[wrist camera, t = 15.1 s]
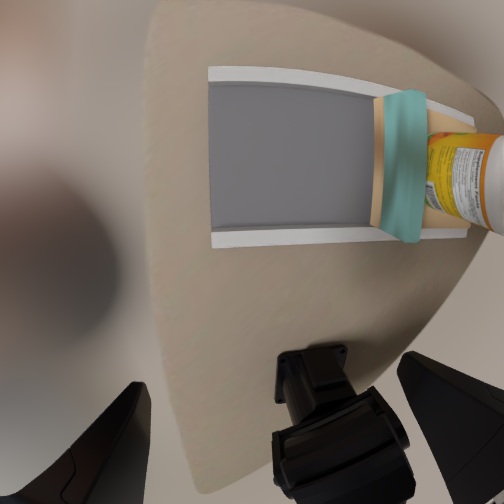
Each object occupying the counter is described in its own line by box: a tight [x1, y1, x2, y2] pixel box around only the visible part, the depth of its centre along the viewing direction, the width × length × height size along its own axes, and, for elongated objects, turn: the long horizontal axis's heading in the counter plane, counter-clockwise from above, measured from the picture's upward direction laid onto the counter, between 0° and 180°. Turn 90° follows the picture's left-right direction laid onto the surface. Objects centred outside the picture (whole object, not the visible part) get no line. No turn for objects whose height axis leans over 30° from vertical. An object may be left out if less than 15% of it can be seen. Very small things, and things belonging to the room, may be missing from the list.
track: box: [208, 66, 474, 248], centre depth 17 cm, size 11×22×2 cm, turn 90°
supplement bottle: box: [424, 132, 504, 236], centre depth 11 cm, size 5×5×10 cm
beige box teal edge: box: [370, 89, 477, 243], centre depth 15 cm, size 8×10×5 cm
